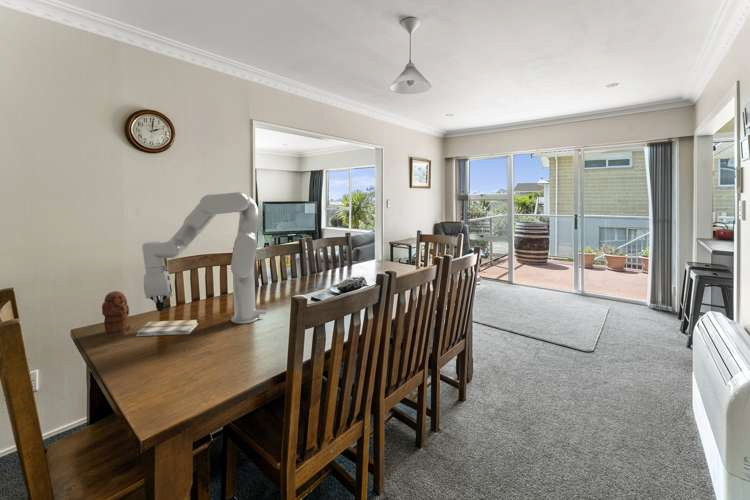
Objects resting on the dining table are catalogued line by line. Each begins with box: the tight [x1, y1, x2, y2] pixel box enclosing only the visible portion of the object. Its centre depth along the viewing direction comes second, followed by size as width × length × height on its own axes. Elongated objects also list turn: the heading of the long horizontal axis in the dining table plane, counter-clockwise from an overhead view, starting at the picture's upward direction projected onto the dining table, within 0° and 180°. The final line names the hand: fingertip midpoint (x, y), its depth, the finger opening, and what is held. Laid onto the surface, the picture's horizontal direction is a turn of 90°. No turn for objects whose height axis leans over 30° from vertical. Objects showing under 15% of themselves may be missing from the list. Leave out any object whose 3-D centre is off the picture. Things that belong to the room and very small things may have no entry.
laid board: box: [136, 325, 193, 336], centre depth 155 cm, size 20×6×1 cm, turn 99°
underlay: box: [135, 322, 199, 337], centre depth 158 cm, size 21×12×1 cm, turn 99°
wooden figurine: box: [101, 290, 131, 338], centre depth 154 cm, size 12×6×18 cm, turn 11°
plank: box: [143, 319, 198, 327], centre depth 161 cm, size 20×6×1 cm, turn 99°
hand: (161, 310), depth 160 cm, fingers closed
